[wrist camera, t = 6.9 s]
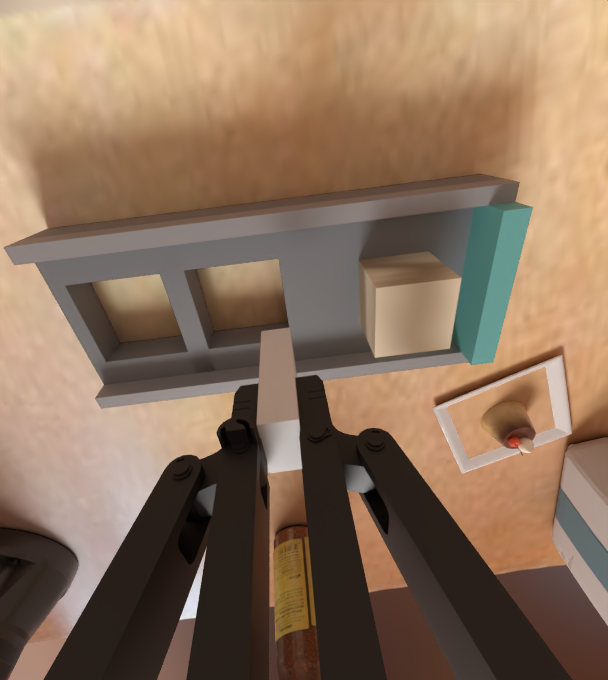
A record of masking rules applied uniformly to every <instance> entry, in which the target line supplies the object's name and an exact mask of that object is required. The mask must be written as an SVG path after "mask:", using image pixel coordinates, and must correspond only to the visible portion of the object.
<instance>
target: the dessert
mask: <svg viewBox="0 0 608 680" xmlns="http://www.w3.org/2000/svg"><path fill="white" fill-rule="evenodd" d="M543 367H545V368H546V373H547V379H548V385H549V392H550V398H551V404H552V410H553V417H554V423H555V427H554V428H552V429H550V430H547V431H544V432H541V433H539V434H536V433H535V430H534V428H533V425H532V423H531V421H530V419H529V416H528V414H527V412H526V409H525V407H524V405H523V404H521V403H519V402H516V401H507V402H502V403H499V404H497V405H495V406H493V407H491V408H490V409H489V410H488V411H486V413H485V414H484V415H483V417H482V419H481V427H482V429H483V430H485V431H486V432H487V433H489V434H490V435H491V436H492V437H494V438H495V439H496V440H497V441H498V442H500V443H501V444H502V445H504V446H503V447H500V448H497V449H495V450H492V451H489V452H486V453H484V454H481V455H478V456H475V457H473V458H468V457H467V454H466V452H465V450H464V447H463V445H462V443H461V440H460V438H459V436H458V433H457V431H456V428H455V426H454V424H453V421H452V419H451V417H450V414H449V412H448V410H447V407H448V406H450V405H452V404H455V403H457V402H460V401H462V400H465V399H467V398H469V397H472V396H474V395H477V394H479V393H482V392H484V391H487V390H489V389H491V388H494V387H496V386H499V385H501V384H504V383H506V382H508V381H511V380H513V379H516V378H518V377H521V376H523V375H526V374H528V373H530V372H533V371H535V370H538V369H540V368H543ZM433 411H434V413H435V415H436V417H437V420H438V422H439V424H440V426H441V428H442V431H443V433H444V435H445V437H446V439H447V442H448V444H449V446H450V448H451V450H452V453H453V455H454V457H455V459H456V461H457V464H458V466H459V468H460V470H461V472H462V473H466V472H468V471H471V470H474V469H477V468H480V467H482V466H485V465H488V464H491V463H493V462H496V461H499V460H502V459H504V458H507V457H510V456H513V455H515V454H518V453H521V452H526V453H531V452H532V451H533V450H534V448H535V447H538V446H540V445H543V444H546V443H549V442H551V441H554V440H557V439H560V438H562V437H565V436H568V435H571V434H572V426H571V418H570V410H569V402H568V394H567V385H566V377H565V369H564V361H563V355H559V356H556V357H554V358H551V359H549V360H547V361H544V362H542V363H539V364H537V365H534V366H532V367H530V368H527V369H525V370H522V371H520V372H517V373H515V374H513V375H510V376H508V377H505V378H503V379H500V380H498V381H496V382H493V383H491V384H488V385H486V386H483V387H481V388H479V389H476V390H474V391H471V392H469V393H466V394H464V395H462V396H459V397H457V398H454V399H452V400H449V401H447V402H445V403H442V404H440V405H437V406H435V407H433ZM535 434H536V435H535ZM521 454H522V453H521ZM522 455H523V454H522Z"/></svg>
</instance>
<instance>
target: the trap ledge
mask: <svg viewBox="0 0 608 680" xmlns="http://www.w3.org/2000/svg"><path fill="white" fill-rule="evenodd" d="M519 183H520V182H516V181H511V180H507V179H502V178H497V177H493V176H488V175H483V174H477V175H469V176H461V177H453V178H446V179H438V180H430V181H422V182H414V183H406V184H398V185H390V186H382V187H374V188H366V189H359V190H351V191H343V192H335V193H327V194H319V195H311V196H303V197H295V198H287V199H279V200H272V201H264V202H256V203H248V204H240V205H232V206H224V207H216V208H208V209H200V210H192V211H185V212H177V213H169V214H161V215H153V216H145V217H137V218H129V219H121V220H113V221H105V222H98V223H90V224H82V225H74V226H66V227H58V228H50V229H46V230H43V231H41V232H39V233H36V234H34V235H32V236H29V237H27V238H25V239H22V240H20V241H18V242H15V243H13V244H11V245H8V246H6V247H4V249H5V251H6V252H7V254H8V256H9V257H10V259H11V261H12V262H13V264H14V265H20V264H28V263H35V264H36V266H37V267H38V269H39V271H40V273H41V274H42V276H43V278H44V280H45V281H46V283H47V285H48V287H49V288H50V290H51V292H52V294H53V295H54V297H55V299H56V301H57V303H58V304H59V306H60V308H61V310H62V311H63V313H64V315H65V317H66V318H67V320H68V322H69V324H70V325H71V327H72V329H73V331H74V332H75V334H76V336H77V338H78V340H79V341H80V343H81V345H82V347H83V348H84V350H85V352H86V354H87V355H88V357H89V359H90V361H91V362H92V364H93V366H94V368H95V369H96V371H97V373H98V375H99V376H100V378H101V380H102V382H103V384H104V386H103V388H102V389H101V390H100V392H99V393H98V395H97V396H96V398H95V399H96V401H97V403H98V404H99V406H100V408H109V407H117V406H125V405H133V404H141V403H149V402H157V401H165V400H173V399H181V398H189V397H197V396H205V395H213V394H221V393H229V392H237V390H238V389H239V387H240V386H243V385H251V384H258V383H259V366H260V347H261V331H267V330H274V329H282V328H289V327H290V332H291V339H292V345H293V352H294V359H295V365H296V373H297V377H303V376H311V375H318V376H319V378H320V379H321V380H322V381H324V380H332V379H340V378H348V377H356V376H364V375H372V374H380V373H388V372H396V371H404V370H412V369H420V368H428V367H436V366H444V365H452V364H460V363H468V362H469V363H470V364H471V365H475V364H483V363H491V362H493V361H494V357H495V353H496V349H497V346H498V342H499V338H500V334H501V330H502V326H503V322H504V318H505V314H506V310H507V306H508V302H509V298H510V295H511V291H512V287H513V283H514V279H515V275H516V271H517V267H518V263H519V259H520V255H521V251H522V248H523V244H524V240H525V236H526V232H527V228H528V224H529V220H530V216H531V212H532V208H533V207H530V206H527V205H523V204H520V203H517V202H515V200H516V196H517V192H518V187H519ZM427 251H429V252H430V253H431V254H432V255H434V256H435V257H436V258H437V259H439V260H440V261H441V262H442V263H444V264H445V265H446V266H447V267H449V268H450V269H451V270H452V271H454V272H455V273H456V274H457V275H459V276H460V277H461V278H462V279H461V285H460V291H459V296H458V302H457V308H456V314H455V320H454V326H453V332H452V338H451V344H450V349H443V350H435V351H427V352H418V353H410V354H402V355H394V356H385V357H377V358H375V357H374V355H373V352H372V350H371V348H370V345H369V343H368V341H367V338H366V336H365V333H364V331H363V329H362V326H361V324H360V322H359V263H358V260H361V259H369V258H378V257H386V256H394V255H402V254H411V253H419V252H427ZM272 259H279V264H280V271H281V277H282V284H283V290H284V297H285V304H286V310H287V317H288V322H286V323H278V324H270V325H262V326H254V327H246V328H238V329H230V330H222V331H214V329H213V325H212V322H211V319H210V315H209V312H208V309H207V305H206V302H205V299H204V295H203V292H202V288H201V285H200V282H199V278H198V275H197V272H196V269H200V268H208V267H216V266H224V265H232V264H240V263H248V262H256V261H264V260H272ZM153 274H160V276H161V278H162V281H163V284H164V287H165V289H166V292H167V295H168V298H169V300H170V303H171V306H172V309H173V311H174V314H175V317H176V320H177V322H178V325H179V328H180V331H181V333H182V336H175V337H167V338H159V339H151V340H143V341H135V342H127V343H120V342H119V340H118V338H117V336H116V334H115V332H114V330H113V328H112V326H111V324H110V322H109V320H108V318H107V316H106V314H105V312H104V310H103V308H102V306H101V304H100V302H99V300H98V298H97V296H96V293H95V291H94V289H93V287H92V285H91V283H90V282H97V281H105V280H113V279H121V278H129V277H137V276H145V275H153Z"/></svg>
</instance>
